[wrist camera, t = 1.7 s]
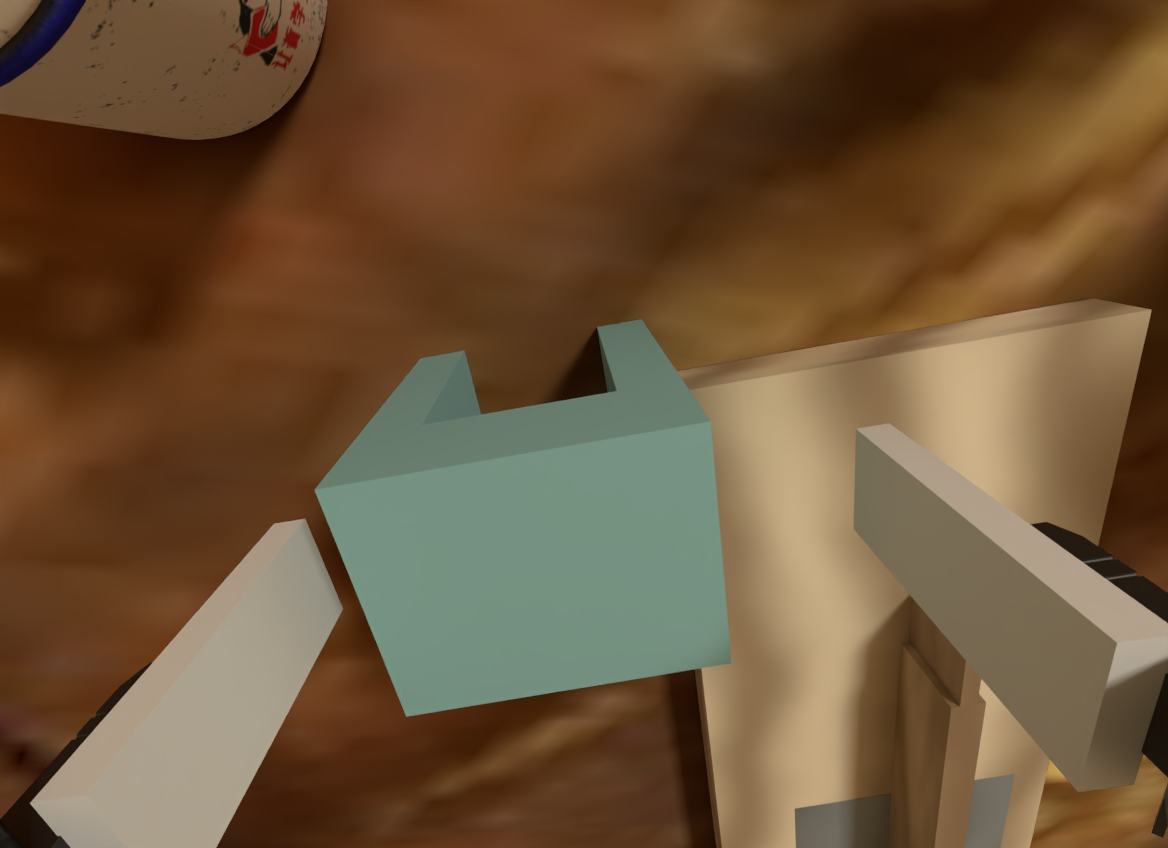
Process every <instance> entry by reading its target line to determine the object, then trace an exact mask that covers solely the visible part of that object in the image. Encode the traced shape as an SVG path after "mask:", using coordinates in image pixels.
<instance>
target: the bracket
mask: <svg viewBox="0 0 1168 848" xmlns="http://www.w3.org/2000/svg"><path fill="white" fill-rule="evenodd" d="M597 330H598V337H599V343H600V349H601V355H602V362H603V368H604V374H605V380H606V387H607V393H603V394H597V395H591V396H585V397H580V398H574V399H568V400H563V401H557V402H551V403H545V404H540V405H534V406H528V407H522V408H517V409H511V410H505V411H499V412H494V413H488V414H482V415H481V412H480V409H479V405H478V401H477V397H476V393H475V389H474V385H473V381H472V378H471V374H470V370H469V366H468V362H467V358H466V354H465V351H459V352H454V353H448V354H442V355H437V356H431V357H425V358H421V359H420V360H419V361H418V362H417V364H416V365H415V366H414V367H413V368H412V370H411V371H410V372H409V373H408V375H407V376H406V377H405V378H404V380H403V381H402V382H401V383H400V385H399V386H398V387H397V388H396V390H395V391H394V392H393V393H392V394H391V396H390V397H389V398H388V399H387V401H386V402H385V403H384V404H383V406H382V407H381V408H380V409H379V411H378V412H377V413H376V414H375V416H374V417H373V418H372V419H371V420H370V422H369V423H368V424H367V425H366V427H365V428H364V429H363V430H362V432H361V433H360V434H359V435H358V437H357V438H356V439H355V440H354V441H353V443H352V444H351V445H350V446H349V448H348V449H347V450H346V451H345V453H344V454H343V455H342V456H341V458H340V459H339V460H338V461H337V463H336V464H335V465H334V466H333V467H332V469H331V470H330V471H329V472H328V474H327V475H326V476H325V477H324V479H323V480H322V481H321V482H320V484H319V485H318V486H317V487H316V489H315V493H316V495H317V498H318V500H319V502H320V505H321V507H322V510H323V512H324V515H325V517H326V520H327V522H328V525H329V527H330V530H331V532H332V535H333V537H334V539H335V542H336V544H337V547H338V549H339V552H340V554H341V557H342V559H343V562H344V564H345V567H346V569H347V572H348V574H349V576H350V579H351V581H352V584H353V586H354V589H355V591H356V594H357V596H358V599H359V601H360V604H361V606H362V608H363V611H364V613H365V616H366V618H367V621H368V623H369V626H370V628H371V631H372V633H373V636H374V638H375V641H376V643H377V645H378V648H379V650H380V653H381V655H382V658H383V660H384V663H385V665H386V668H387V670H388V673H389V675H390V678H391V680H392V682H393V685H394V687H395V690H396V692H397V695H398V697H399V700H400V702H401V705H402V707H403V710H404V712H405V715H406V717H407V716H413V715H419V714H426V713H432V712H438V711H444V710H450V709H456V708H462V707H468V706H474V705H480V704H486V703H493V702H499V701H505V700H511V699H517V698H523V697H529V696H535V695H541V694H547V693H554V692H560V691H566V690H572V689H578V688H584V687H590V686H596V685H602V684H608V683H614V682H621V681H627V680H633V679H639V678H645V677H651V676H657V675H663V674H669V673H675V672H682V671H688V670H694V669H700V668H706V667H712V666H718V665H724V664H730V663H731V651H730V639H729V628H728V616H727V604H726V593H725V581H724V570H723V558H722V546H721V535H720V523H719V512H718V500H717V488H716V477H715V465H714V453H713V442H712V430H711V421H710V420H709V418H708V417H707V415H706V414H705V412H704V411H703V409H702V408H701V406H700V405H699V403H698V402H697V400H696V399H695V398H694V396H693V395H692V393H691V392H690V390H689V389H688V387H687V386H686V384H685V383H684V381H683V380H682V378H681V377H680V375H679V374H678V372H677V371H676V370H675V368H674V367H673V365H672V364H671V362H670V361H669V359H668V358H667V356H666V355H665V353H664V352H663V350H662V349H661V347H660V346H659V345H658V343H657V342H656V340H655V339H654V337H653V336H652V334H651V333H650V331H649V330H648V328H647V327H646V325H645V324H644V322H643V321H642V319H640V320H635V321H629V322H623V323H618V324H612V325H606V326H601V327H597Z"/></svg>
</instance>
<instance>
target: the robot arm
mask: <svg viewBox="0 0 1168 848" xmlns="http://www.w3.org/2000/svg"><path fill="white" fill-rule="evenodd" d="M854 530H855V531H856V532H857V533H858V535H859V536H860V537H861V538H862V539H863V540H864V542H865V543H866V544H867V545H868V546H869V547H870V549H871V550H872V551H873V552H874V553H875V555H876V556H877V557H878V558H879V559H880V560H881V562H882V563H883V564H884V565H885V566H886V567H887V569H888V570H889V571H890V572H891V573H892V574H893V576H894V577H895V578H896V579H897V580H898V581H899V583H900V584H901V585H902V586H903V587H904V589H905V590H906V591H907V592H908V593H909V594H910V596H911V597H912V598H913V599H914V600H915V601H916V603H917V604H918V605H919V606H920V607H921V608H922V610H923V611H924V612H925V613H926V614H927V616H928V617H929V618H930V619H931V620H932V621H933V623H934V624H935V625H936V626H937V627H938V628H939V630H940V631H941V632H942V633H943V634H944V635H945V637H946V638H947V639H948V640H949V641H950V642H951V644H952V645H953V646H954V647H955V648H956V650H957V651H958V652H959V653H960V654H961V655H962V657H963V658H964V659H965V660H966V661H967V662H968V664H969V665H970V666H971V667H972V668H973V669H974V671H975V672H976V673H977V674H978V675H979V677H980V678H981V679H982V680H983V681H984V682H985V684H986V685H987V686H988V687H989V688H990V689H991V691H992V692H993V693H994V694H995V695H996V696H997V698H998V699H999V700H1000V701H1001V702H1002V704H1003V705H1004V706H1005V707H1006V708H1007V709H1008V711H1009V712H1010V713H1011V714H1012V715H1013V716H1014V718H1015V719H1016V720H1017V721H1018V722H1019V723H1020V725H1021V726H1022V727H1023V728H1024V729H1025V730H1026V732H1027V733H1028V734H1029V735H1030V736H1031V738H1032V739H1033V740H1034V741H1035V742H1036V743H1037V745H1038V746H1039V747H1040V748H1041V749H1042V750H1043V752H1044V753H1045V754H1046V755H1047V756H1048V757H1049V759H1050V760H1051V761H1052V762H1053V763H1054V765H1055V766H1056V767H1057V768H1058V769H1059V770H1060V772H1061V773H1062V774H1063V775H1064V776H1065V777H1066V779H1067V780H1068V781H1069V782H1070V783H1071V784H1072V786H1073V787H1074V788H1075V789H1076V790H1077V791H1078V792H1083V791H1090V790H1097V789H1104V788H1112V787H1119V786H1126V785H1133V784H1134V782H1135V779H1136V776H1137V773H1138V770H1139V767H1140V763H1141V760H1142V757H1143V754H1144V755H1145V756H1146V757H1147V758H1148V759H1149V760H1151V761H1152V762H1153V763H1154V764H1155V765H1156V766H1157V767H1158V768H1159V769H1160V770H1161V771H1162V772H1163V773H1164V774H1165V775H1166V776H1167V777H1168V593H1167V592H1166V591H1164V590H1163V589H1161V588H1160V587H1158V586H1157V585H1155V584H1154V583H1152V582H1151V581H1149V580H1148V579H1146V578H1145V577H1143V576H1141V577H1139V576H1138V575H1137V574H1136V571H1134V570H1133V569H1131V568H1130V567H1128V566H1127V565H1125V564H1124V563H1122V562H1121V561H1119V560H1114V559H1113V558H1112V555H1110V554H1109V553H1107V552H1106V551H1104V550H1103V549H1101V548H1100V547H1098V546H1097V545H1095V544H1094V543H1092V542H1091V541H1089V540H1088V539H1086V538H1085V537H1083V536H1081V535H1079V534H1076V533H1074V532H1071V531H1069V530H1066V529H1064V528H1061V527H1059V526H1056V525H1054V524H1051V523H1049V522H1042V523H1035V524H1029V523H1027V522H1026V521H1025V520H1023V519H1022V518H1020V517H1019V516H1018V515H1016V514H1015V513H1013V512H1012V511H1011V510H1009V509H1008V508H1006V507H1005V506H1004V505H1002V504H1001V503H1000V502H998V501H997V500H995V499H994V498H993V497H991V496H990V495H988V494H987V493H986V492H984V491H983V490H981V489H980V488H979V487H977V486H976V485H974V484H973V483H972V482H970V481H969V480H967V479H966V478H965V477H963V476H962V475H961V474H959V473H958V472H956V471H955V470H954V469H952V468H951V467H949V466H948V465H947V464H945V463H944V462H942V461H941V460H940V459H938V458H937V457H935V456H934V455H933V454H931V453H930V452H928V451H927V450H926V449H924V448H923V447H922V446H920V445H919V444H917V443H916V442H915V441H913V440H912V439H910V438H909V437H908V436H906V435H905V434H903V433H902V432H901V431H899V430H898V429H896V428H895V427H894V426H892V425H891V424H890V423H888V424H882V425H876V426H870V427H864V428H858V429H856V446H855V490H854ZM342 610H343V607H342V605H341V603H340V600H339V598H338V595H337V593H336V591H335V588H334V586H333V584H332V581H331V579H330V576H329V574H328V572H327V569H326V567H325V565H324V562H323V560H322V558H321V555H320V553H319V550H318V548H317V546H316V543H315V541H314V539H313V536H312V534H311V531H310V529H309V527H308V524H307V522H306V520H305V519H300V520H294V521H288V522H282V523H276V524H274V525H273V526H272V527H271V528H270V529H269V530H268V531H267V533H266V534H265V535H264V536H263V537H262V538H261V539H260V541H259V542H258V543H257V544H256V545H255V546H254V547H253V549H252V550H251V551H250V552H249V553H248V554H247V555H246V557H245V558H244V559H243V560H242V561H241V562H240V563H239V565H238V566H237V567H236V568H235V569H234V570H233V571H232V573H231V574H230V575H229V576H228V577H227V578H226V579H225V581H224V582H223V583H222V584H221V585H220V586H219V587H218V589H217V590H216V591H215V592H214V593H213V594H212V595H211V597H210V598H209V599H208V600H207V601H206V602H205V603H204V605H203V606H202V607H201V608H200V609H199V610H198V611H197V613H196V614H195V615H194V616H193V617H192V618H191V619H190V621H189V622H188V623H187V624H186V625H185V626H184V627H183V629H182V630H181V631H180V632H179V633H178V634H177V635H176V637H175V638H174V639H173V640H172V641H171V642H170V643H169V645H168V646H167V647H166V648H165V649H164V650H163V651H162V653H161V654H160V655H159V656H158V657H157V658H156V659H155V661H154V662H153V663H149V664H148V665H147V666H145V667H144V668H143V669H142V670H140V671H139V672H138V673H136V674H135V675H134V676H133V677H131V678H130V679H129V680H128V681H126V682H125V683H124V684H122V685H121V686H120V687H119V688H118V689H117V690H116V691H115V692H114V693H113V695H112V696H111V697H110V698H109V699H108V700H107V701H106V702H105V704H104V705H103V706H102V707H101V708H100V709H99V710H98V711H97V712H96V714H97V715H96V717H94V718H91V719H90V720H89V721H88V722H87V724H86V725H85V726H84V727H83V728H82V729H81V730H80V731H79V732H78V734H77V738H76V739H75V740H71V741H70V742H69V744H68V745H67V746H66V747H65V748H64V749H63V750H62V751H61V752H60V754H59V755H58V756H57V757H56V758H55V759H54V760H53V761H52V762H51V764H50V765H49V766H48V767H47V768H46V769H45V770H44V771H43V772H42V774H41V775H40V776H39V777H38V778H37V779H36V780H35V781H34V782H33V784H32V785H31V786H30V787H29V788H28V789H27V790H26V791H25V793H24V794H23V795H22V796H21V797H20V798H19V799H18V800H17V801H16V803H15V804H14V805H13V806H12V807H11V808H10V809H9V810H8V811H7V813H6V814H5V815H4V816H3V817H2V818H1V819H0V848H216V847H217V845H218V844H219V842H220V840H221V838H222V836H223V834H224V832H225V830H226V829H227V827H228V825H229V823H230V821H231V819H232V817H233V815H234V813H235V812H236V810H237V808H238V806H239V804H240V802H241V800H242V798H243V797H244V795H245V793H246V791H247V789H248V787H249V785H250V783H251V781H252V780H253V778H254V776H255V774H256V772H257V770H258V768H259V766H260V765H261V763H262V761H263V759H264V757H265V755H266V753H267V751H268V749H269V748H270V746H271V744H272V742H273V740H274V738H275V736H276V734H277V733H278V731H279V729H280V727H281V725H282V723H283V721H284V719H285V717H286V716H287V714H288V712H289V710H290V708H291V706H292V704H293V702H294V701H295V699H296V697H297V695H298V693H299V691H300V689H301V687H302V685H303V684H304V682H305V680H306V678H307V676H308V674H309V672H310V670H311V669H312V667H313V665H314V663H315V661H316V659H317V657H318V655H319V654H320V652H321V650H322V648H323V646H324V644H325V642H326V640H327V638H328V637H329V635H330V633H331V631H332V629H333V627H334V625H335V623H336V622H337V620H338V618H339V616H340V614H341V612H342ZM1167 826H1168V785H1167V787H1166V790H1165V793H1164V796H1163V799H1162V802H1161V804H1160V807H1159V810H1158V813H1157V816H1156V819H1155V822H1154V826H1153V830H1152V833H1153V834H1156V835H1158V836H1160V837H1163V836H1164V834H1165V831H1166V828H1167Z"/></svg>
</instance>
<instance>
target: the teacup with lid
mask: <svg viewBox="0 0 1168 848" xmlns="http://www.w3.org/2000/svg"><path fill="white" fill-rule="evenodd" d="M326 11H327V0H0V114H6V115H13V116H20V117H27V118H34V119H41V120H48V121H55V122H62V123H69V124H77V125H84V126H91V127H98V128H105V129H112V130H119V131H126V132H133V133H140V134H147V135H154V136H162V137H169V138H176V139H189V140H202V139H214V138H220V137H225V136H230V135H233V134H237V133H240V132H243V131H245V130H248V129H250V128H252V127H254V126H256V125H258V124H260V123H261V122H263V121H265V120H266V119H268V118H270V117H271V116H272V115H273V114H275V113H276V112H277V111H278V110H280V109H281V108H282V107H283V106H284V105H285V104H286V103H287V102H288V101H289V100H290V99H291V97H292V96H293V95H294V94H295V92H296V91H297V90H298V88H299V87H300V86H301V84H302V82H303V81H304V79H305V77H306V76H307V74H308V72H309V70H310V68H311V66H312V64H313V62H314V59H315V57H316V54H317V51H318V48H319V45H320V42H321V38H322V34H323V30H324V25H325V19H326Z"/></svg>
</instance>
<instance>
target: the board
mask: <svg viewBox="0 0 1168 848" xmlns="http://www.w3.org/2000/svg"><path fill="white" fill-rule="evenodd" d="M1151 311H1152V310H1151V309H1146V308H1140V307H1135V306H1130V305H1125V304H1120V303H1115V302H1110V301H1105V300H1100V299H1095V298H1093V299H1088V300H1082V301H1076V302H1070V303H1065V304H1059V305H1053V306H1047V307H1042V308H1036V309H1030V310H1025V311H1019V312H1013V313H1007V314H1002V315H996V316H990V317H984V318H979V319H973V320H967V321H962V322H956V323H950V324H944V325H939V326H933V327H927V328H921V329H916V330H910V331H904V332H899V333H893V334H887V335H881V336H876V337H870V338H864V339H858V340H853V341H847V342H841V343H836V344H830V345H824V346H818V347H813V348H807V349H801V350H795V351H790V352H784V353H778V354H773V355H767V356H761V357H755V358H750V359H744V360H738V361H732V362H727V363H721V364H715V365H710V366H704V367H698V368H692V369H687V370H681V371H677V372H678V374H679V375H680V377H681V378H682V380H683V381H684V383H685V384H686V386H687V387H688V389H689V390H690V392H691V393H692V395H693V396H694V398H695V399H696V400H697V402H698V403H699V405H700V406H701V408H702V409H703V411H704V412H705V414H706V415H707V417H708V418H709V420H710V421H711V430H712V442H713V453H714V465H715V477H716V488H717V500H718V512H719V523H720V535H721V546H722V558H723V570H724V581H725V593H726V604H727V616H728V628H729V639H730V651H731V663H730V664H724V665H718V666H712V667H706V668H700V669H695V676H696V684H697V693H698V701H699V709H700V717H701V726H702V734H703V742H704V751H705V759H706V767H707V776H708V784H709V792H710V800H711V809H712V817H713V825H714V834H715V842H716V848H1030V844H1031V840H1032V835H1033V831H1034V826H1035V822H1036V818H1037V813H1038V809H1039V804H1040V800H1041V796H1042V791H1043V787H1044V782H1045V778H1046V773H1047V769H1048V765H1049V760H1050V759H1049V757H1048V756H1047V755H1046V754H1045V753H1044V752H1043V750H1042V749H1041V748H1040V747H1039V746H1038V745H1037V743H1036V742H1035V741H1034V740H1033V739H1032V738H1031V736H1030V735H1029V734H1028V733H1027V732H1026V730H1025V729H1024V728H1023V727H1022V726H1021V725H1020V723H1019V722H1018V721H1017V720H1016V719H1015V718H1014V716H1013V715H1012V714H1011V713H1010V712H1009V711H1008V709H1007V708H1006V707H1005V706H1004V705H1003V704H1002V702H1001V701H1000V700H999V699H998V698H997V696H996V695H995V694H994V693H993V692H992V691H991V689H990V688H989V687H988V686H987V685H986V684H985V682H984V681H983V680H982V679H981V678H980V677H979V675H978V674H977V673H976V672H975V671H974V669H973V668H972V667H971V666H970V665H969V664H968V662H967V661H966V660H965V659H964V658H963V657H962V655H961V654H960V653H959V652H958V651H957V650H956V648H955V647H954V646H953V645H952V644H951V642H950V641H949V640H948V639H947V638H946V637H945V635H944V634H943V633H942V632H941V631H940V630H939V628H938V627H937V626H936V625H935V624H934V623H933V621H932V620H931V619H930V618H929V617H928V616H927V614H926V613H925V612H924V611H923V610H922V608H921V607H920V606H919V605H918V604H917V603H916V601H915V600H914V599H913V598H912V597H911V596H910V594H909V593H908V592H907V591H906V590H905V589H904V587H903V586H902V585H901V584H900V583H899V581H898V580H897V579H896V578H895V577H894V576H893V574H892V573H891V572H890V571H889V570H888V569H887V567H886V566H885V565H884V564H883V563H882V562H881V560H880V559H879V558H878V557H877V556H876V555H875V553H874V552H873V551H872V550H871V549H870V547H869V546H868V545H867V544H866V543H865V542H864V540H863V539H862V538H861V537H860V536H859V535H858V533H857V532H856V531H855V530H854V490H855V446H856V429H858V428H864V427H870V426H876V425H882V424H888V423H890V424H891V425H892V426H894V427H895V428H896V429H898V430H899V431H901V432H902V433H903V434H905V435H906V436H908V437H909V438H910V439H912V440H913V441H915V442H916V443H917V444H919V445H920V446H922V447H923V448H924V449H926V450H927V451H928V452H930V453H931V454H933V455H934V456H935V457H937V458H938V459H940V460H941V461H942V462H944V463H945V464H947V465H948V466H949V467H951V468H952V469H954V470H955V471H956V472H958V473H959V474H961V475H962V476H963V477H965V478H966V479H967V480H969V481H970V482H972V483H973V484H974V485H976V486H977V487H979V488H980V489H981V490H983V491H984V492H986V493H987V494H988V495H990V496H991V497H993V498H994V499H995V500H997V501H998V502H1000V503H1001V504H1002V505H1004V506H1005V507H1006V508H1008V509H1009V510H1011V511H1012V512H1013V513H1015V514H1016V515H1018V516H1019V517H1020V518H1022V519H1023V520H1025V521H1026V522H1027V523H1029V524H1035V523H1042V522H1049V523H1051V524H1054V525H1056V526H1059V527H1061V528H1064V529H1066V530H1069V531H1071V532H1074V533H1076V534H1079V535H1081V536H1083V537H1085V538H1086V539H1088V540H1089V541H1091V542H1092V543H1094V544H1095V545H1097V546H1098V544H1099V540H1100V536H1101V531H1102V527H1103V522H1104V518H1105V514H1106V509H1107V505H1108V500H1109V496H1110V491H1111V487H1112V483H1113V478H1114V474H1115V469H1116V465H1117V461H1118V456H1119V452H1120V447H1121V443H1122V439H1123V434H1124V430H1125V425H1126V421H1127V417H1128V412H1129V408H1130V403H1131V399H1132V395H1133V390H1134V386H1135V381H1136V377H1137V373H1138V368H1139V364H1140V359H1141V355H1142V350H1143V346H1144V342H1145V337H1146V333H1147V328H1148V324H1149V320H1150V315H1151Z"/></svg>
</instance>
